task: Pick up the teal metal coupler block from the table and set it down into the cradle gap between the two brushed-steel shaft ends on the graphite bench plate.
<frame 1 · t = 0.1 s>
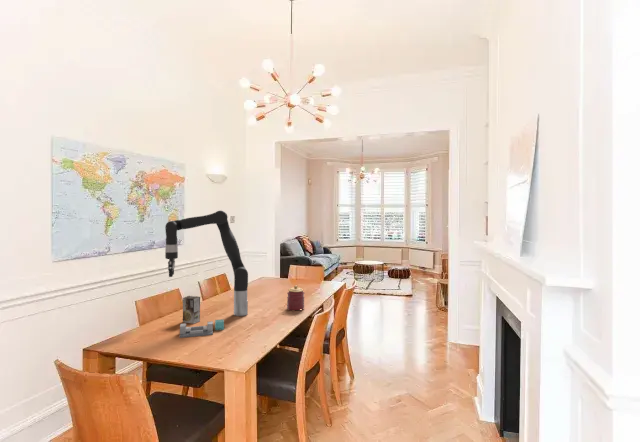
hand: (171, 275, 224), 29 cm above the table, fingers open, 8 cm apart
coffee box: (191, 322, 221), on the table
shaft bench: (196, 332, 201), on the table
canister: (295, 308, 255), on the table
coupler: (219, 328, 208), on the table
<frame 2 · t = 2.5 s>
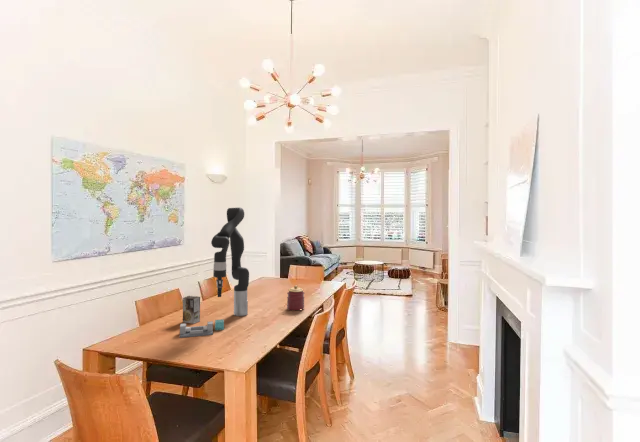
hand: (219, 295, 208), 21 cm above the table, fingers open, 8 cm apart
nothing on the table moved.
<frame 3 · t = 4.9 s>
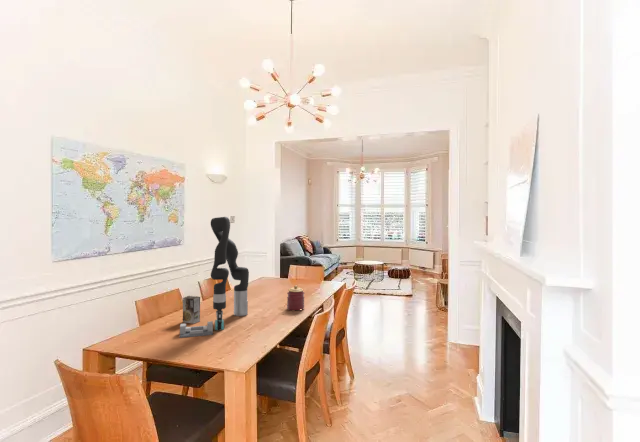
hand: (219, 327, 208), 0 cm above the table, fingers closed on coupler, 5 cm apart
coupler: (219, 328, 208), on the table, touching gripper
everything else where it was.
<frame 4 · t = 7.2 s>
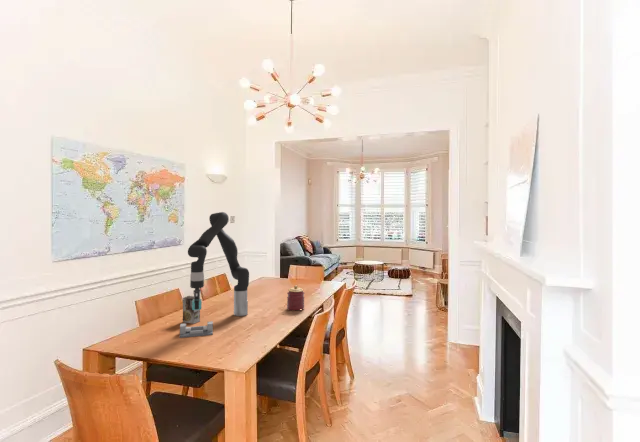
hand: (196, 307, 200), 15 cm above the table, fingers closed on coupler, 5 cm apart
coupler: (196, 308, 200), point 14 cm above the table, touching gripper
everything else where it was.
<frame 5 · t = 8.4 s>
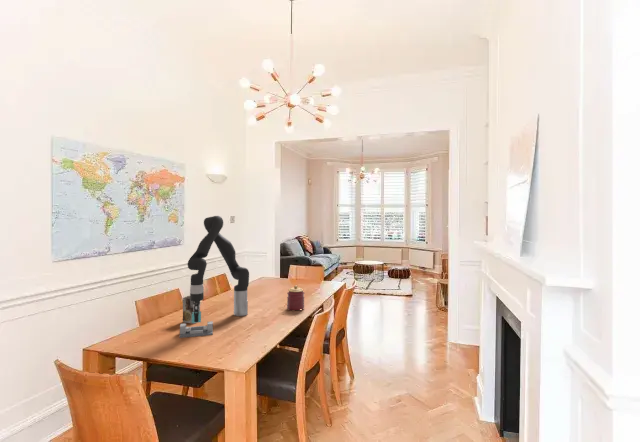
hand: (196, 320, 200), 7 cm above the table, fingers closed on coupler, 5 cm apart
coupler: (196, 321, 200), point 7 cm above the table, touching gripper
everything else where it was.
when the fingers open (4 cm above the table, at t = 9.6 s): coupler drops 2 cm, resting on shaft bench.
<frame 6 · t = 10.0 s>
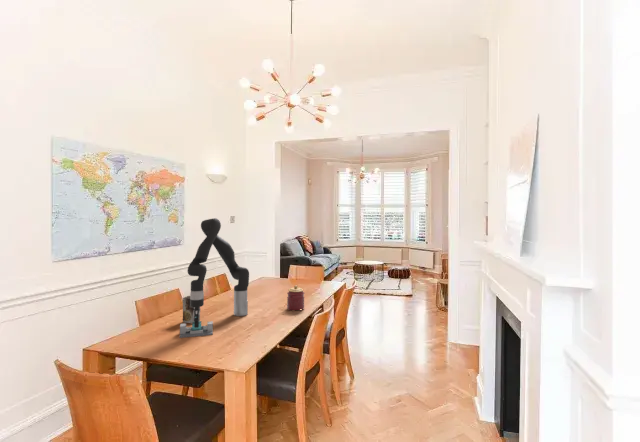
hand: (196, 325, 200), 5 cm above the table, fingers open, 8 cm apart
coupler: (196, 331, 201), point 1 cm above the table, touching shaft bench
everything else where it was.
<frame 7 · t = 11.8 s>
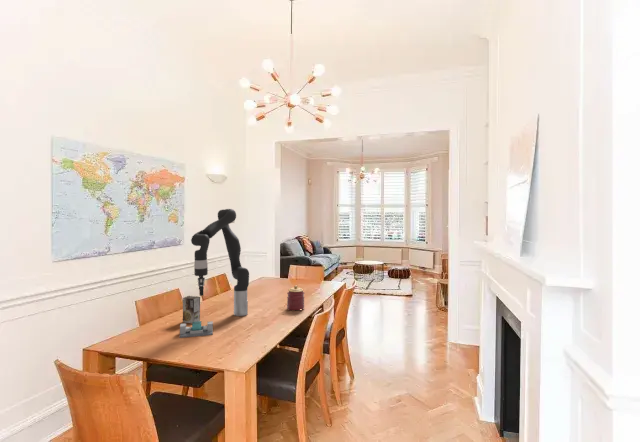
hand: (201, 293, 205), 22 cm above the table, fingers open, 8 cm apart
nothing on the table moved.
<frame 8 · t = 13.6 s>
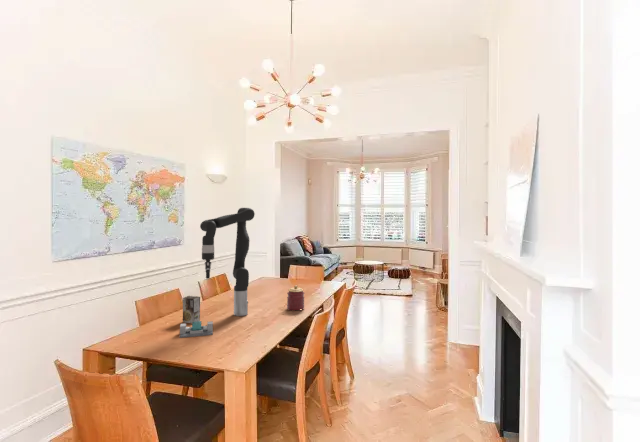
hand: (207, 277, 216), 30 cm above the table, fingers open, 8 cm apart
nothing on the table moved.
at the end: coupler 0.1 cm off-centre on the shaft bench, point 1.0 cm above the shaft bench's base; coupler tilted 0°; the gripper is holding nothing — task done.
